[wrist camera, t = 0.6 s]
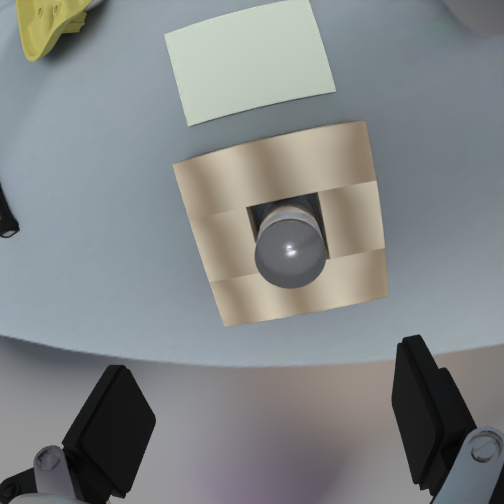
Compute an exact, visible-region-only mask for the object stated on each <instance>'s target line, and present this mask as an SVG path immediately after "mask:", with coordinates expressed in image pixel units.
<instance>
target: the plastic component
mask: <svg viewBox="0 0 504 504" xmlns="http://www.w3.org/2000/svg"><path fill="white" fill-rule="evenodd" d="M92 1H93V0H16V9H17V17H18V24H19V31H20V37H21V42H22V47H23V50H24V53H25V56H26V58H27V59H28V60H29V61H31V62H33V61H36V60H39V59H41V58H43V57H44V56H45V55H46V54H48V53H49V52H50V51H51V49H52V48H53V47H54V45H55V44H56V42H57V40H58V39H59V37H60V35H61V33H73V32H79V31H80V28H81V27H82V26H83V25H84V24H85V22H84V20H85V16H86V15H87V13H85V9H86V8H87V6H88V5H89V4H90V3H91V2H92Z"/></svg>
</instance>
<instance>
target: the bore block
mask: <svg viewBox="0 0 504 504" xmlns="http://www.w3.org/2000/svg"><path fill="white" fill-rule="evenodd" d="M172 165H173V168H174V172H175V175H176V178H177V182H178V185H179V189H180V192H181V195H182V199H183V202H184V205H185V208H186V212H187V215H188V218H189V221H190V224H191V228H192V231H193V234H194V237H195V240H196V243H197V246H198V250H199V253H200V256H201V259H202V262H203V265H204V268H205V271H206V274H207V277H208V280H209V283H210V286H211V289H212V292H213V295H214V297H215V300H216V303H217V306H218V309H219V312H220V315H221V318H222V320H223V323H224V326H225V327H226V326H233V325H240V324H247V323H253V322H260V321H266V320H272V319H278V318H284V317H289V316H295V315H301V314H306V313H312V312H317V311H322V310H327V309H333V308H338V307H343V306H348V305H352V304H357V303H362V302H367V301H371V300H376V299H380V298H385V297H389V295H388V278H387V265H386V253H385V242H384V233H383V224H382V216H381V208H380V201H379V194H378V187H377V181H376V174H375V168H374V163H373V157H372V152H371V146H370V141H369V136H368V131H367V126H366V122H365V120H361V121H349V122H343V123H337V124H332V125H326V126H321V127H315V128H310V129H305V130H300V131H295V132H291V133H286V134H281V135H277V136H272V137H268V138H264V139H259V140H255V141H251V142H247V143H243V144H239V145H235V146H231V147H227V148H224V149H220V150H216V151H212V152H209V153H205V154H202V155H198V156H195V157H191V158H188V159H185V160H183V161H180V162H178V163H175V164H172ZM314 192H315V196H316V201H317V206H318V211H319V216H320V221H321V226H322V232H323V237H324V240H323V241H324V244H325V248H326V263H325V266H324V268H323V270H322V272H321V274H320V275H319V276H318V277H317V278H316V279H315V280H314V281H313V282H311V283H310V284H308V285H306V286H303V287H300V288H295V289H286V288H280V287H277V286H275V285H273V284H271V283H269V282H268V281H267V280H265V279H264V278H263V277H262V276H261V274H260V273H259V271H258V269H257V267H256V264H255V257H254V254H255V248H256V243H257V239H258V234H259V230H260V226H259V222H258V218H257V214H256V210H255V207H254V205H257V204H262V203H267V202H271V201H276V200H280V199H285V198H290V197H295V196H299V195H304V194H309V193H314Z"/></svg>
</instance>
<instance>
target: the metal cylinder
mask: <svg viewBox="0 0 504 504" xmlns="http://www.w3.org/2000/svg"><path fill="white" fill-rule="evenodd" d="M254 257H255V264H256V267H257V269H258V271H259V273H260V274H261V276H262V277H263V278H264V279H265V280H267V281H268V282H269V283H271V284H273V285H275V286H277V287H280V288H286V289H295V288H300V287H303V286H306V285H308V284H310V283H311V282H313V281H314V280H315V279H316V278H317V277H318V276H319V275H320V274H321V272H322V270H323V268H324V266H325V263H326V248H325V244H324V241H323V238H322V235H321V232H320V229H319V226H318V223H317V220H316V217H315V214H314V211H313V208H312V206H311V204H310V203H309V202H308V200H307V199H306V198H304V197H303V196H301V195H299V196H295V197H290V198H285V199H280V200H276V201H271V202H268V203H267V204H266V206H265V209H264V212H263V217H262V221H261V226H260V230H259V234H258V239H257V243H256V248H255V254H254Z"/></svg>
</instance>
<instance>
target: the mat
mask: <svg viewBox="0 0 504 504" xmlns="http://www.w3.org/2000/svg"><path fill="white" fill-rule="evenodd" d="M164 36H165V40H166V44H167V48H168V52H169V56H170V60H171V64H172V67H173V71H174V75H175V79H176V83H177V87H178V90H179V94H180V98H181V102H182V105H183V109H184V113H185V117H186V120H187V124H188V126H193V125H196V124H200V123H203V122H206V121H210V120H213V119H217V118H220V117H224V116H228V115H231V114H235V113H239V112H243V111H247V110H251V109H255V108H259V107H263V106H267V105H272V104H276V103H281V102H285V101H290V100H295V99H300V98H305V97H310V96H316V95H322V94H327V93H333V92H336V89H335V85H334V81H333V77H332V74H331V70H330V66H329V63H328V59H327V56H326V53H325V49H324V46H323V43H322V39H321V36H320V33H319V30H318V27H317V24H316V21H315V18H314V15H313V12H312V9H311V6H310V3H309V0H287V1H282V2H277V3H271V4H267V5H262V6H257V7H253V8H249V9H245V10H240V11H237V12H233V13H229V14H225V15H222V16H218V17H215V18H212V19H208V20H205V21H202V22H199V23H196V24H193V25H190V26H187V27H184V28H181V29H178V30H175V31H173V32H170V33H167V34H165V35H164Z"/></svg>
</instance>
